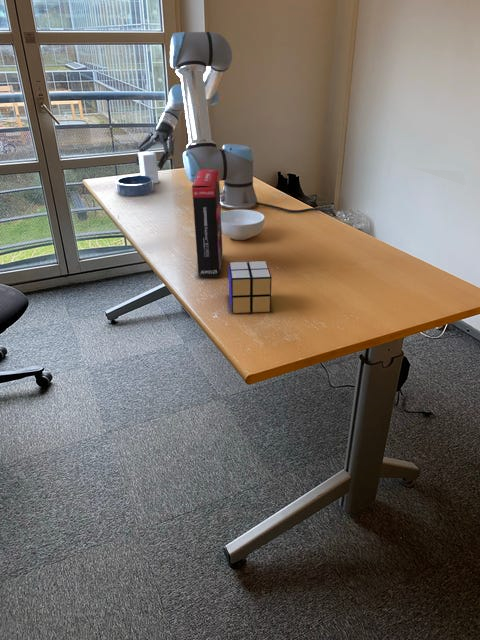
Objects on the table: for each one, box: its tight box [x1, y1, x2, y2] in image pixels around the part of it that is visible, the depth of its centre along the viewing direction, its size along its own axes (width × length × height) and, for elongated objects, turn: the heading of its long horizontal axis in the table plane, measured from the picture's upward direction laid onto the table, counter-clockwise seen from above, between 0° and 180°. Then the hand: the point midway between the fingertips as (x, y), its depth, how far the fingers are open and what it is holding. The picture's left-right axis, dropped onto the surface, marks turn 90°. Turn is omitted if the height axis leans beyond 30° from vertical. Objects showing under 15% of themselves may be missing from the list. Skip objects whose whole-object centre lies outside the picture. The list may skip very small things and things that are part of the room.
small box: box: [137, 150, 160, 184], centre depth 232 cm, size 8×6×13 cm
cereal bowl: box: [221, 209, 266, 241], centre depth 173 cm, size 17×17×7 cm
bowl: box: [115, 174, 155, 197], centre depth 220 cm, size 16×16×5 cm
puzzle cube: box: [228, 260, 273, 315], centre depth 130 cm, size 10×10×10 cm
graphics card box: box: [191, 170, 224, 279], centre depth 146 cm, size 17×7×27 cm, turn 179°
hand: (148, 165), depth 231 cm, fingers open, 13 cm apart
